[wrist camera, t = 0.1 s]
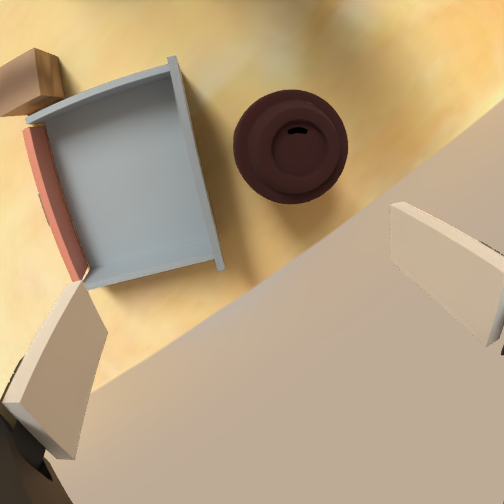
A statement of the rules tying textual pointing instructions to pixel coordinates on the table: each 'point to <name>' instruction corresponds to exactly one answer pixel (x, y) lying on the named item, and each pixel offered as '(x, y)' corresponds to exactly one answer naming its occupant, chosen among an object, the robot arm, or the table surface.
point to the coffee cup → (290, 146)
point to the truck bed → (133, 176)
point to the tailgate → (54, 201)
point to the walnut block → (29, 83)
